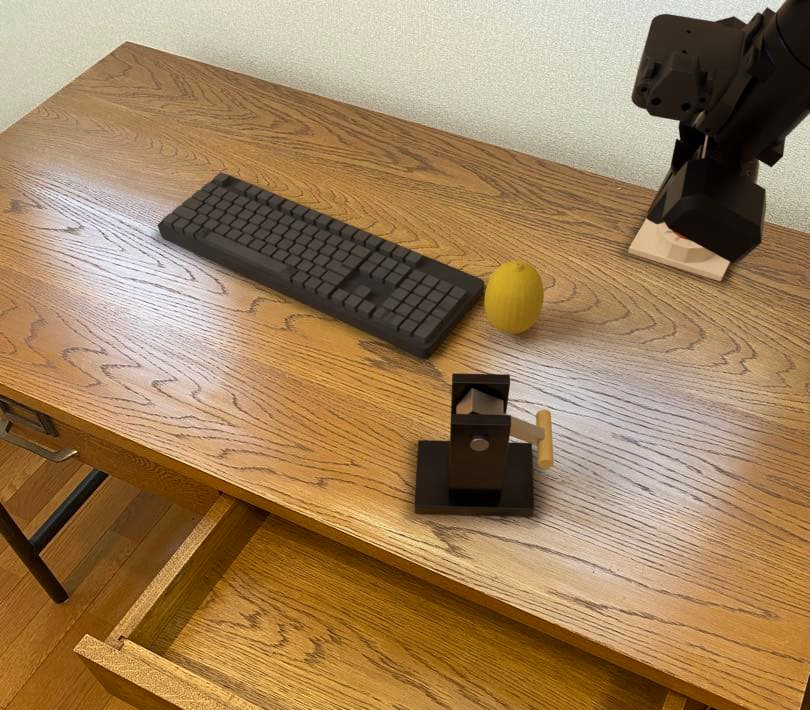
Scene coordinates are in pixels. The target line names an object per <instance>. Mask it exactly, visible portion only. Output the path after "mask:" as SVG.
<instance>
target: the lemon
mask: <svg viewBox="0 0 810 710" xmlns="http://www.w3.org/2000/svg"><path fill="white" fill-rule="evenodd" d="M543 284H544V283H543V280H542V277H541V275H540V273H539V271H538V270H537V269H536V268H535V267H534V266H533V265H531V264H530V263H528V262H526V261H522V260H511V261H507V262H505V263H503V264H501V265H500V266H498V267H497V268H496V269H495V271H494V272H492V274H491V275H490V278H489V280H488V283H487V285H486V288H485V291H484V310H485V314H486V317H487V320H488V321H489V322H490V324H491V325H492V327H494V328H495V329H497V331H500V332H502V333H504V334H509V335H514V334H515V335H516V334H520V333H523V332H525V331H527V330H529V329H530V328H531V327H532V326H533V325H534V324H535V323H536V322H537V320H538V318H539V317H540V315H541V313H542V309H543V304H544V299H545V292H544V291H545V290H544V285H543Z"/></svg>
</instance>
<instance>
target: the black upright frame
mask: <svg viewBox="0 0 810 710" xmlns="http://www.w3.org/2000/svg"><path fill="white" fill-rule="evenodd" d="M472 388H473V389H475V390H478V391H480V392H483V393H485V394H488V395H491V396H493V397H496V398H498V399H501V400H503V413H505V414H507V411H508V405H509V397H510V389H511V375H510V374H503V373H452V374H451V397H450V398H451V399H450V424H449V425H450V429H449V440H428V439H427V440H425V439H419V440H417V455H416V457H417V458H416V469H415V470H416V471H415V488H414V514H416V515H417V514H418V515H419V514H420V515H452V516H453V515H455V516H482V517H483V516H487V517H517V518H519V517H520V518H524V517H525V518H533V517H534V513H535V486H534V484H535V483H534V461H533V444H531V443H528V442H511V441H510V437H511V436H510V430H511V416H512V415H511V414H507V415H485V414H456V411H457V405H458V404H459V403H460V402H461V401H462V399H463V398H464V397H465V396H466V395H467V394H468V392H469V391H470V390H471V389H472Z"/></svg>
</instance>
